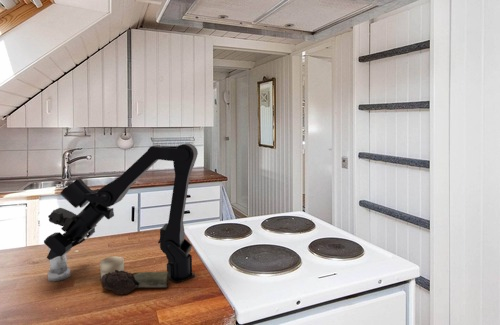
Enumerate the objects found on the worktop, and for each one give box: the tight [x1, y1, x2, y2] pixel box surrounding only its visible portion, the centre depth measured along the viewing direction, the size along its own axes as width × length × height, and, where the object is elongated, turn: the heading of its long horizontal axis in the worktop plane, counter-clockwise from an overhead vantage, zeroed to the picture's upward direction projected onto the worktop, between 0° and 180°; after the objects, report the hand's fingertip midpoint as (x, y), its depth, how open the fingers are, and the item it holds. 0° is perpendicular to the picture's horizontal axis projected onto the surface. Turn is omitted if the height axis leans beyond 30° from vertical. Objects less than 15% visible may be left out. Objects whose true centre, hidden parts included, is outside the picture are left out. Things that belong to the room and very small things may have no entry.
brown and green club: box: [100, 270, 170, 295], centre depth 93 cm, size 18×7×6 cm, turn 96°
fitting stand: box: [99, 256, 125, 281], centre depth 101 cm, size 7×7×5 cm
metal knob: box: [47, 246, 71, 282], centre depth 101 cm, size 6×6×12 cm
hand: (53, 255), depth 101 cm, fingers closed on metal knob, 4 cm apart
